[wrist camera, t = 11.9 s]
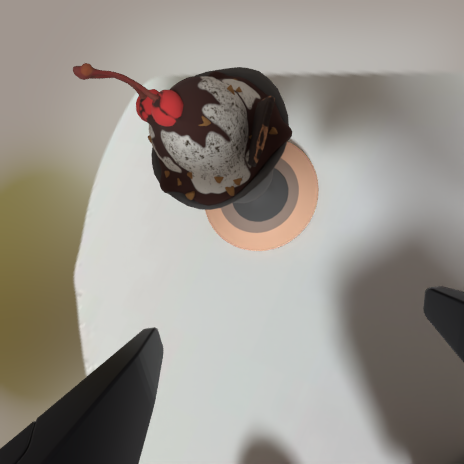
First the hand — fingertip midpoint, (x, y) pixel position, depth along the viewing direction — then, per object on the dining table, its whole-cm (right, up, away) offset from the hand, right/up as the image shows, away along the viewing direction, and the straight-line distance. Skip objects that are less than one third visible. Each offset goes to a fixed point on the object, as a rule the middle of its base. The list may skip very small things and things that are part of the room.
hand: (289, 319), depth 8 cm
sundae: (0, +6, +12) cm, 14 cm away
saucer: (0, +6, +13) cm, 15 cm away
